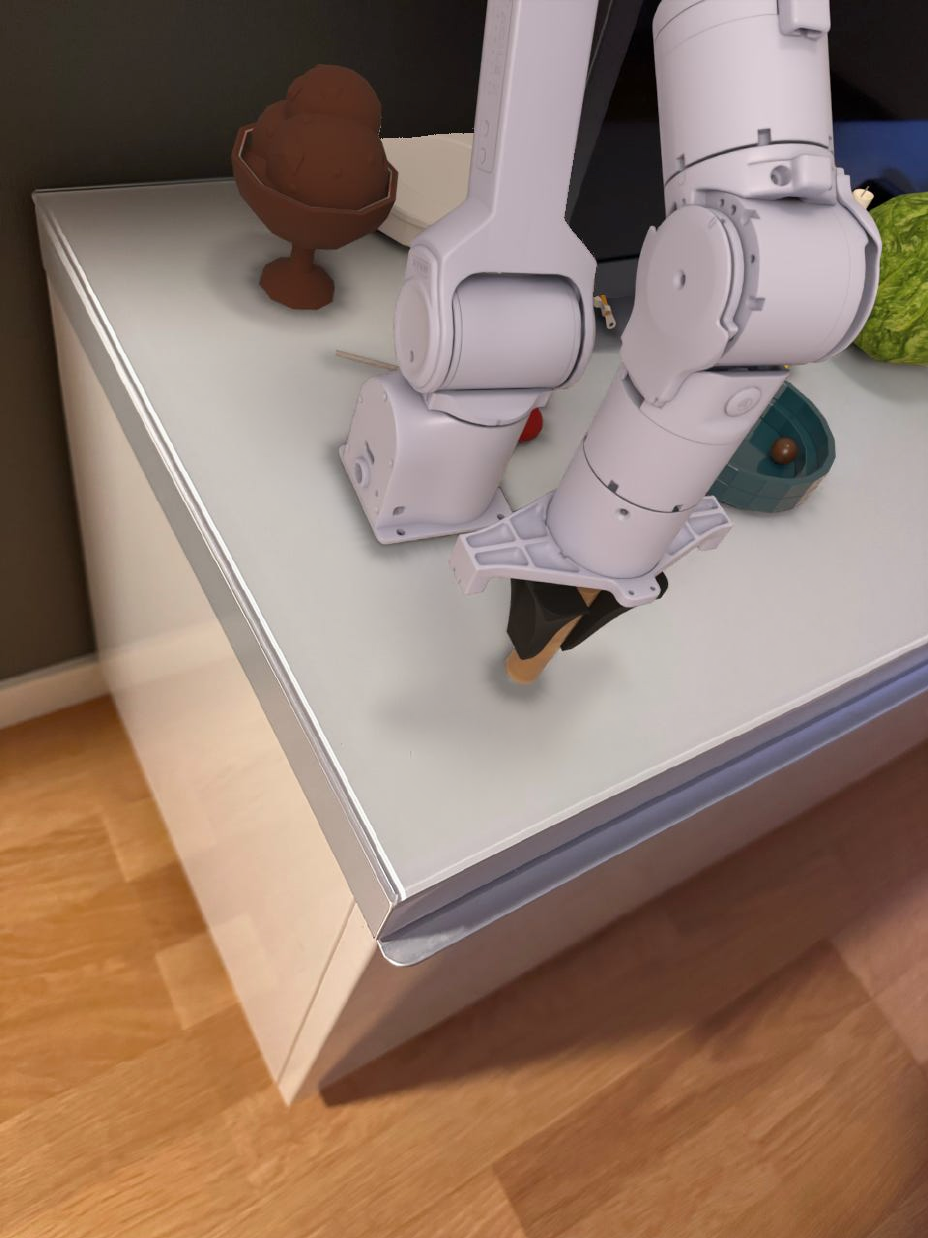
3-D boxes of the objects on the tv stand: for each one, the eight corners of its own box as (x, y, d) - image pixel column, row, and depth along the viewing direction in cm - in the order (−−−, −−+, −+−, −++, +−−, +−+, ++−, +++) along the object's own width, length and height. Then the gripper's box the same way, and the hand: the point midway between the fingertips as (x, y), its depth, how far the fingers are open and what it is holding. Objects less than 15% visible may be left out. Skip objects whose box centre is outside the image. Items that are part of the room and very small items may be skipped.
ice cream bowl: (207, 235, 70) (224, 18, 58) (354, 245, 74) (396, 45, 63) (232, 331, 65) (255, 114, 53) (388, 336, 69) (441, 136, 57)
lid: (594, 224, 86) (606, 193, 83) (450, 290, 74) (460, 256, 71) (453, 126, 90) (461, 93, 87) (297, 173, 78) (301, 137, 76)
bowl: (707, 528, 66) (732, 494, 64) (619, 396, 72) (639, 360, 70) (841, 504, 72) (869, 473, 70) (749, 384, 78) (772, 351, 76)
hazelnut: (764, 444, 73) (790, 444, 73) (767, 468, 72) (793, 468, 72) (774, 432, 71) (800, 433, 71) (777, 457, 70) (803, 458, 71)
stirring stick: (514, 687, 53) (577, 597, 45) (499, 656, 53) (559, 563, 46) (544, 679, 54) (611, 590, 46) (529, 649, 54) (592, 557, 47)
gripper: (541, 560, 36) (447, 734, 46) (819, 511, 42) (681, 674, 53) (468, 426, 39) (395, 617, 49) (736, 400, 45) (621, 574, 56)
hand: (538, 639), depth 51 cm, fingers closed on stirring stick, 2 cm apart
